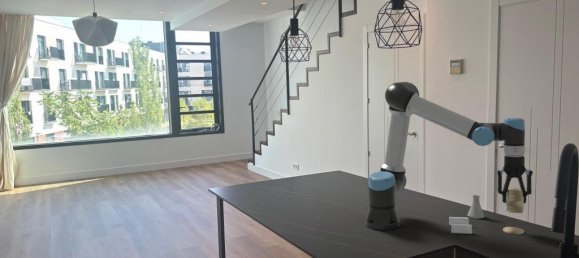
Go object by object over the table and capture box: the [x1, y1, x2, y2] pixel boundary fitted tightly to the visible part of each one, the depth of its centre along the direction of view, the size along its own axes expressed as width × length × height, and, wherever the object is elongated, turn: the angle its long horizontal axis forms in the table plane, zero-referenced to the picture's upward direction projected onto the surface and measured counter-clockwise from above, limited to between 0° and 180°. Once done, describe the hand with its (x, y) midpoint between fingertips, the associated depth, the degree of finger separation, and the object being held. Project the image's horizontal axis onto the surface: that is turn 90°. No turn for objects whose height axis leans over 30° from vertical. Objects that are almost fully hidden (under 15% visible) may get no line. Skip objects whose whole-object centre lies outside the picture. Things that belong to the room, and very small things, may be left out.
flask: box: [467, 194, 486, 219], centre depth 204 cm, size 7×7×10 cm
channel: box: [448, 216, 473, 235], centre depth 189 cm, size 8×11×4 cm
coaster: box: [502, 226, 525, 236], centre depth 183 cm, size 8×8×1 cm
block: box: [507, 188, 523, 214], centre depth 182 cm, size 5×5×9 cm
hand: (514, 210), depth 182 cm, fingers closed on block, 5 cm apart
